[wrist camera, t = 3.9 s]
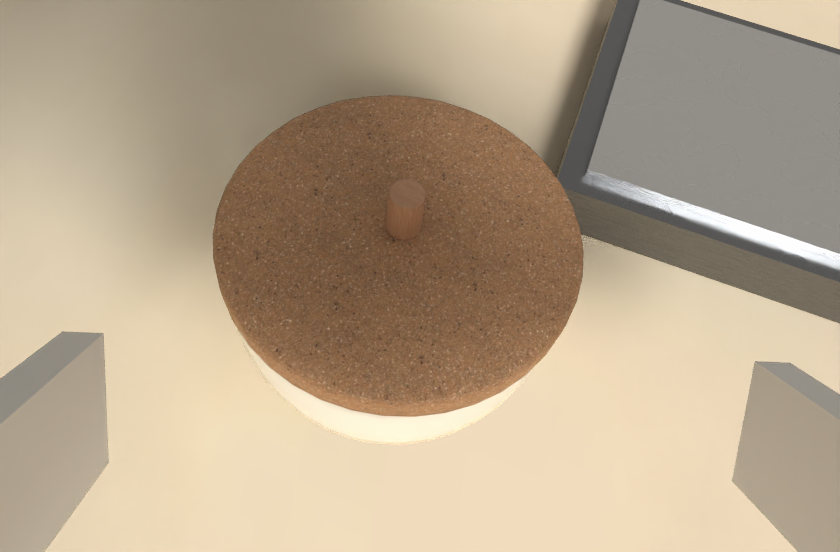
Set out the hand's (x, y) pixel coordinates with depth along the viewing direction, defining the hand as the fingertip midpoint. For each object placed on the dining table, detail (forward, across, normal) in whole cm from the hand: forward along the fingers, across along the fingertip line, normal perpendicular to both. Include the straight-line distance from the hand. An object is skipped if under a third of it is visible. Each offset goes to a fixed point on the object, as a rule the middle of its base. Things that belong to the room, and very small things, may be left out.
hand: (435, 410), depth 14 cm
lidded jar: (+13, 0, -3) cm, 13 cm away
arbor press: (+17, +26, +2) cm, 31 cm away
